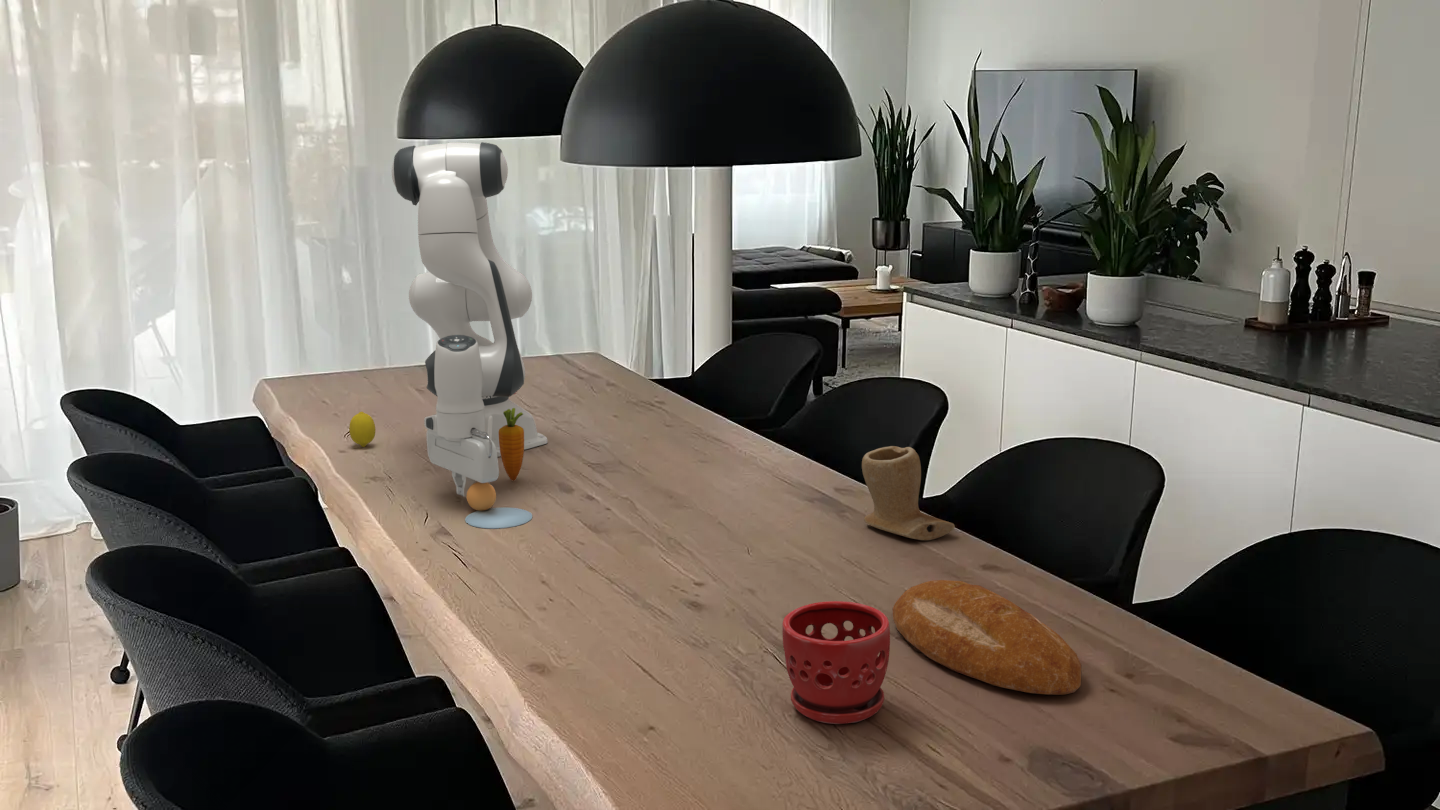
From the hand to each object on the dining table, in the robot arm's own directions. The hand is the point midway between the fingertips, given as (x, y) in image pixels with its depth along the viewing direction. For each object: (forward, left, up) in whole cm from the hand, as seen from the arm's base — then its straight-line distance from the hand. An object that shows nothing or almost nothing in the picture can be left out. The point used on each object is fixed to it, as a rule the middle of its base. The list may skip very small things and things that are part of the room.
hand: (464, 495), depth 252 cm
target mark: (0, +12, -2) cm, 12 cm away
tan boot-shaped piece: (-48, +66, -2) cm, 82 cm away
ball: (0, +6, +1) cm, 6 cm away
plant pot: (+10, +107, -2) cm, 108 cm away
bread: (-18, +108, -2) cm, 109 cm away
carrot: (-15, -7, -2) cm, 17 cm away
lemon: (-5, -52, -2) cm, 52 cm away
